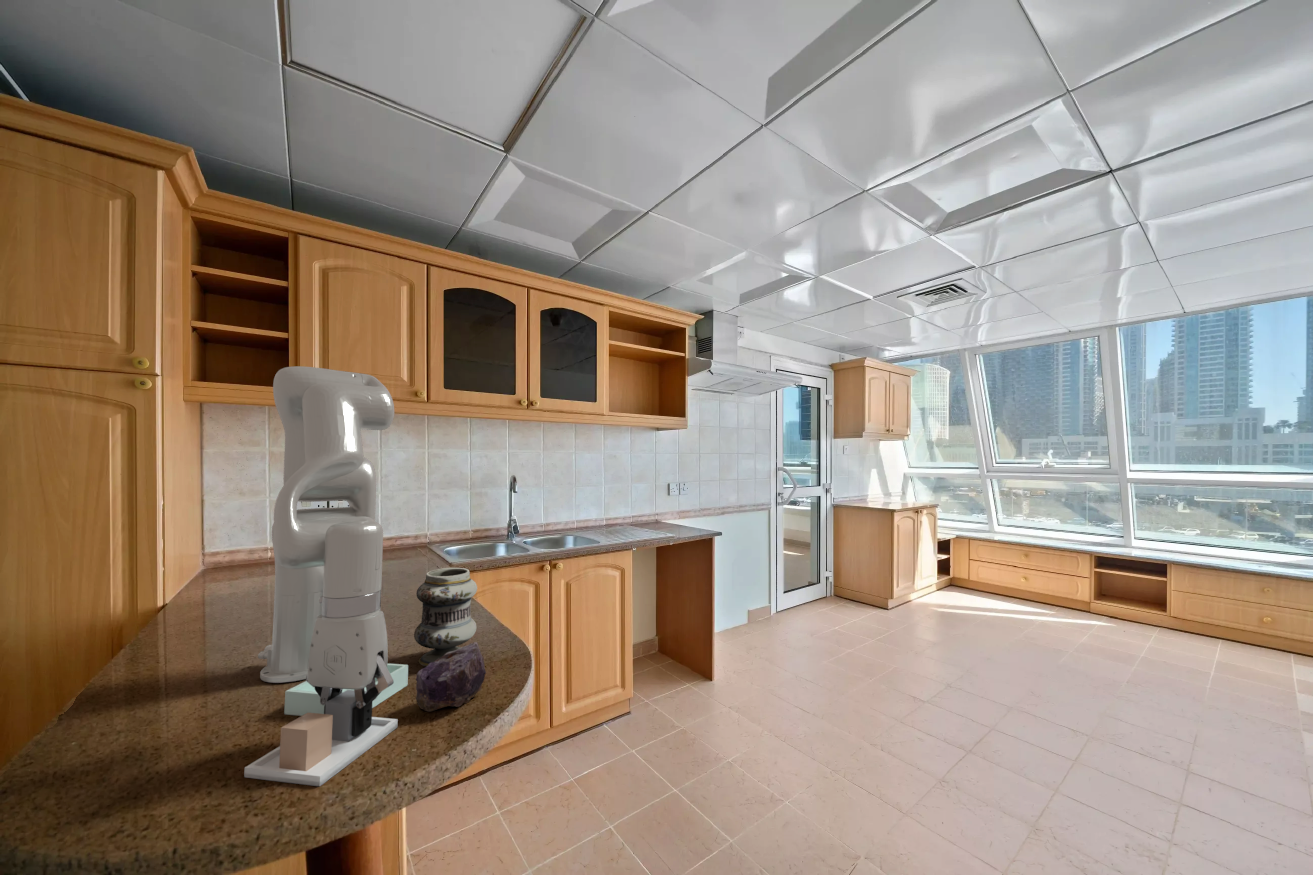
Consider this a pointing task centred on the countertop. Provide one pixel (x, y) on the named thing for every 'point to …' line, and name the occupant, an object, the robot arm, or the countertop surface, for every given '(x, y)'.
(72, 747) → the countertop surface
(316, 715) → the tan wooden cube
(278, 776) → the tray
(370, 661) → the robot arm
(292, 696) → the seafoam storage bin
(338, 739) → the matte grey cube
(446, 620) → the apothecary jar
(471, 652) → the rock
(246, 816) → the countertop surface
